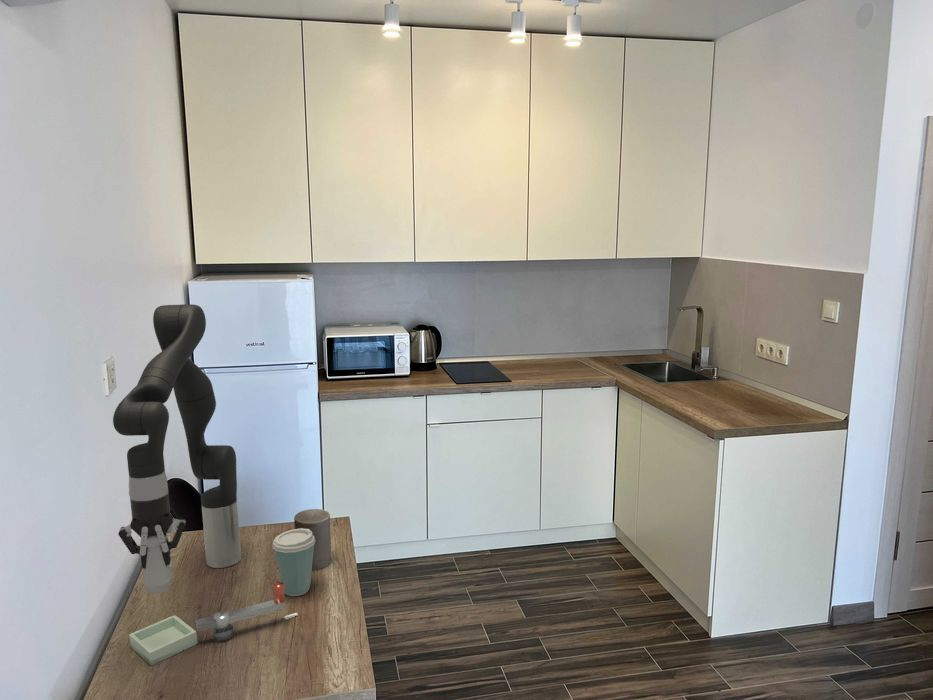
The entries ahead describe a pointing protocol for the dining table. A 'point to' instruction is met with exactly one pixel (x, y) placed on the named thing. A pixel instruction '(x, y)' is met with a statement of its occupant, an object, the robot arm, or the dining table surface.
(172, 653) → the tray
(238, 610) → the crank
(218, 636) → the crank base
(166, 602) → the dining table surface
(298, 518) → the pillar candle
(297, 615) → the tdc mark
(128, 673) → the dining table surface
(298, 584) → the disposable coffee cup
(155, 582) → the salt shaker
